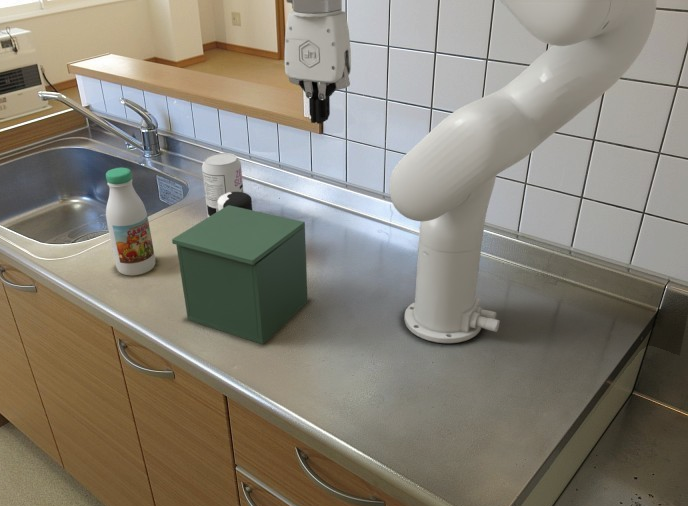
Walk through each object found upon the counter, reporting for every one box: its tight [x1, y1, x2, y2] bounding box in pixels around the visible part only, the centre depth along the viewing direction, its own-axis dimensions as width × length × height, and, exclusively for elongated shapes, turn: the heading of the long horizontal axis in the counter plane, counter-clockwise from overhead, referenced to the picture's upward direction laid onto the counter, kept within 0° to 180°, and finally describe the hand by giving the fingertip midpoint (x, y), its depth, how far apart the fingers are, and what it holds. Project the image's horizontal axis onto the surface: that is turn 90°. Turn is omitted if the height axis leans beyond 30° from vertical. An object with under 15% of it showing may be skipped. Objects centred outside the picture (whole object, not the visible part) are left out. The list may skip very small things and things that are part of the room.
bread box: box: [175, 226, 309, 345], centre depth 113 cm, size 15×16×15 cm
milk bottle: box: [105, 167, 156, 276], centre depth 128 cm, size 8×8×20 cm
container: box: [217, 191, 253, 211], centre depth 131 cm, size 8×8×13 cm
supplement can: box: [201, 152, 244, 218], centre depth 144 cm, size 8×8×15 cm
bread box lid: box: [171, 205, 306, 265], centre depth 109 cm, size 15×16×1 cm
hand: (319, 120), depth 112 cm, fingers closed
